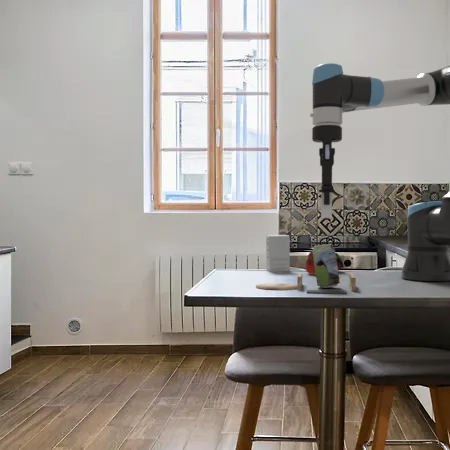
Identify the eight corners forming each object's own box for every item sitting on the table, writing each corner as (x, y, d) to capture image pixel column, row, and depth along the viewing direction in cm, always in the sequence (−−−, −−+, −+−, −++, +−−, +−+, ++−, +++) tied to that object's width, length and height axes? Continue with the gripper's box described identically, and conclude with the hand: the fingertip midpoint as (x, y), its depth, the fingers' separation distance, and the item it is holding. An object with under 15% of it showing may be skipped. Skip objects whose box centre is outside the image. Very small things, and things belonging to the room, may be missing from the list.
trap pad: (346, 291, 151) (346, 290, 151) (347, 294, 147) (347, 292, 147) (306, 291, 152) (306, 290, 152) (306, 293, 148) (306, 292, 148)
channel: (352, 285, 164) (352, 273, 164) (355, 291, 152) (355, 277, 152) (298, 284, 166) (298, 272, 166) (297, 289, 154) (297, 276, 154)
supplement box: (286, 270, 210) (286, 234, 210) (290, 272, 203) (290, 235, 202) (265, 270, 210) (266, 234, 209) (268, 272, 202) (268, 235, 202)
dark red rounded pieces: (323, 294, 201) (293, 272, 194) (331, 263, 207) (303, 241, 200) (351, 290, 192) (321, 267, 185) (359, 257, 198) (330, 234, 191)
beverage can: (339, 289, 155) (339, 244, 155) (311, 288, 157) (311, 244, 157) (339, 286, 162) (340, 243, 161) (312, 286, 163) (313, 242, 163)
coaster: (300, 285, 165) (300, 283, 165) (299, 290, 153) (299, 289, 153) (257, 284, 167) (257, 283, 167) (253, 289, 155) (253, 288, 155)
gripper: (312, 129, 158) (311, 217, 158) (312, 122, 145) (311, 218, 145) (340, 129, 156) (340, 217, 157) (343, 121, 144) (342, 218, 144)
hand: (326, 217), depth 151 cm, fingers closed
